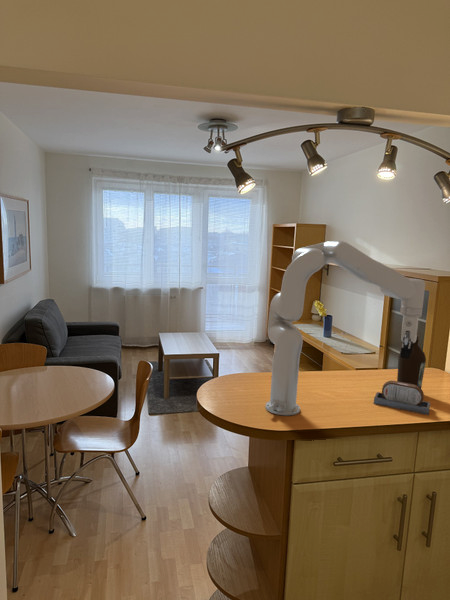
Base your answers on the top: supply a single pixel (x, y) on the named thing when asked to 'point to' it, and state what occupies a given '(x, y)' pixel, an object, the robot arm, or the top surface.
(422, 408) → the tray
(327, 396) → the top surface
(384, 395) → the tin
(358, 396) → the top surface
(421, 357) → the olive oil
